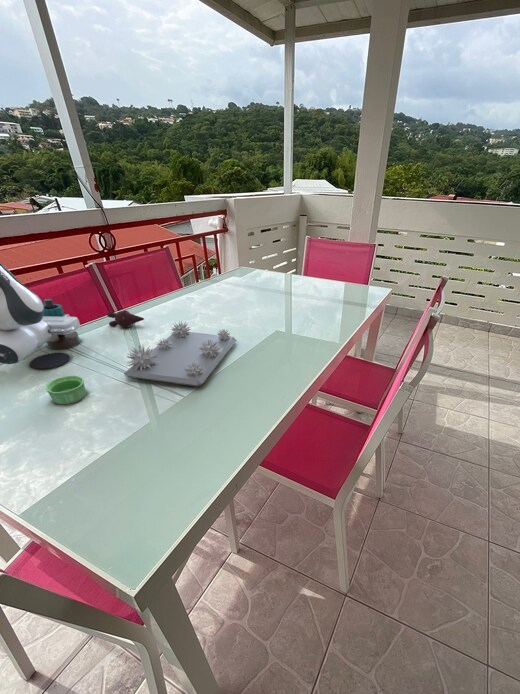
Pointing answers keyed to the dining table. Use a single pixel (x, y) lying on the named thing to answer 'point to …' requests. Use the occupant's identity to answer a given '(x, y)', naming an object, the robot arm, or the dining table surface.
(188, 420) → the dining table surface
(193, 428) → the dining table surface
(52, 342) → the holder
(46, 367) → the coaster
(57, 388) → the ramekin
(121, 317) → the icecream
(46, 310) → the teal ribbed hollow cylinder
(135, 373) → the decorative tray
